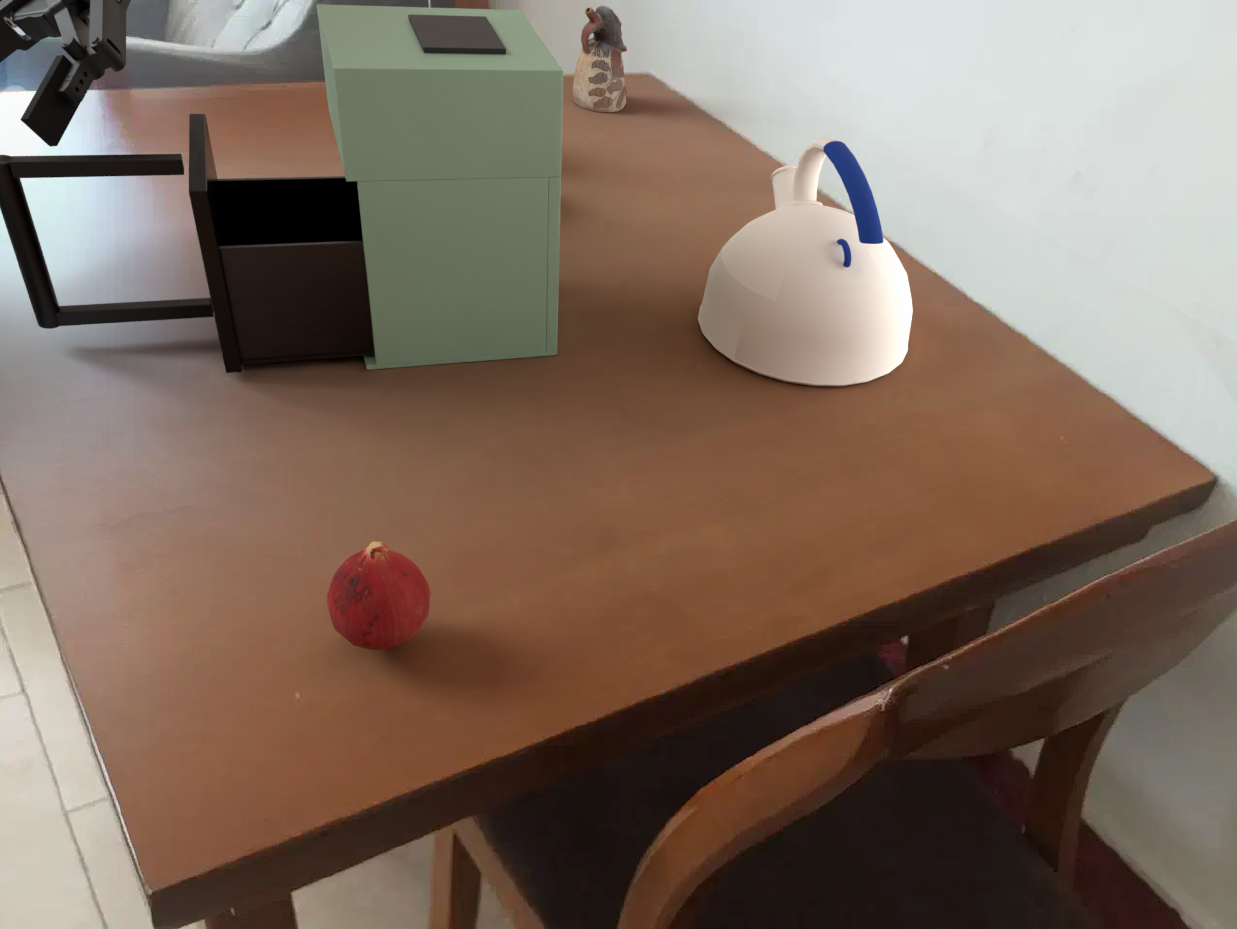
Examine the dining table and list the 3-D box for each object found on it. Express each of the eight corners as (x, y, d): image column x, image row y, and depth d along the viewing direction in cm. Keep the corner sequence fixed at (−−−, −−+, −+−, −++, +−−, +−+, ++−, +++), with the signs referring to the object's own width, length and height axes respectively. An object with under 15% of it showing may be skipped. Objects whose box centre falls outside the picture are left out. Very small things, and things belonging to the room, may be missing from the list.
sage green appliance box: (366, 370, 89) (333, 62, 74) (348, 284, 100) (315, -2, 84) (557, 355, 95) (563, 64, 79) (521, 275, 105) (520, 4, 89)
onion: (376, 693, 64) (364, 594, 59) (314, 644, 66) (296, 545, 61) (452, 642, 68) (446, 545, 62) (391, 597, 70) (380, 500, 65)
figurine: (635, 110, 144) (642, 13, 136) (587, 114, 141) (591, 15, 133) (611, 91, 148) (615, -3, 141) (563, 95, 145) (566, -2, 137)
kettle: (856, 276, 114) (894, 100, 102) (944, 381, 99) (999, 191, 88) (671, 283, 108) (689, 97, 96) (736, 396, 93) (766, 194, 81)
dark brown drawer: (32, 388, 81) (-33, 196, 71) (50, 292, 91) (-5, 113, 82) (420, 358, 90) (408, 185, 81) (397, 275, 101) (384, 112, 91)
